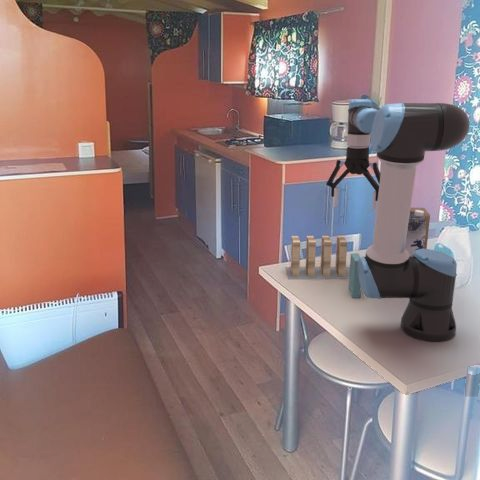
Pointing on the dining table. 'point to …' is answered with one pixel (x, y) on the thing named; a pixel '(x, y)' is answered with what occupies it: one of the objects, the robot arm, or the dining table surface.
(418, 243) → the juice carton
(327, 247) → the tile
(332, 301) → the dining table surface
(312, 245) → the tile
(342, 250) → the tile
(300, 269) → the mat
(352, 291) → the end tile
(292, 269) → the tile
